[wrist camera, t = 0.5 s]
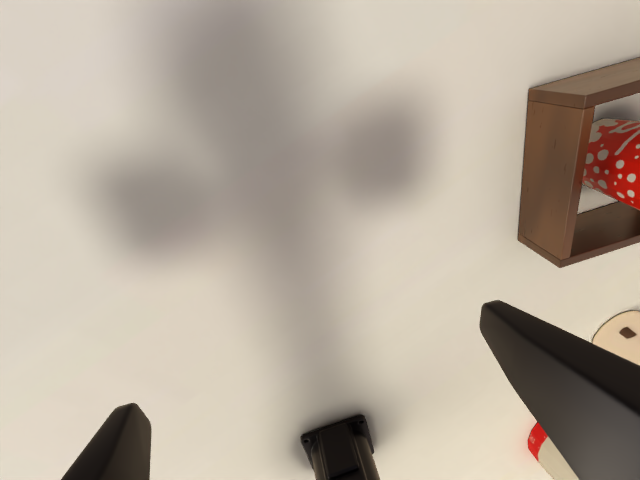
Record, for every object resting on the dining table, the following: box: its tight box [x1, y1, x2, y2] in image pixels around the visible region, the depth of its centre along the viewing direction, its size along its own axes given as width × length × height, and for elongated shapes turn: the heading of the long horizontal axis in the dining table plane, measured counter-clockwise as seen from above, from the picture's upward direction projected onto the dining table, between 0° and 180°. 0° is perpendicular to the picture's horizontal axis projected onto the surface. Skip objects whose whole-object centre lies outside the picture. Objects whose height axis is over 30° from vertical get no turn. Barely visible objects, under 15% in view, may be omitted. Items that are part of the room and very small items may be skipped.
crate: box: [518, 57, 640, 268], centre depth 23 cm, size 11×11×4 cm
